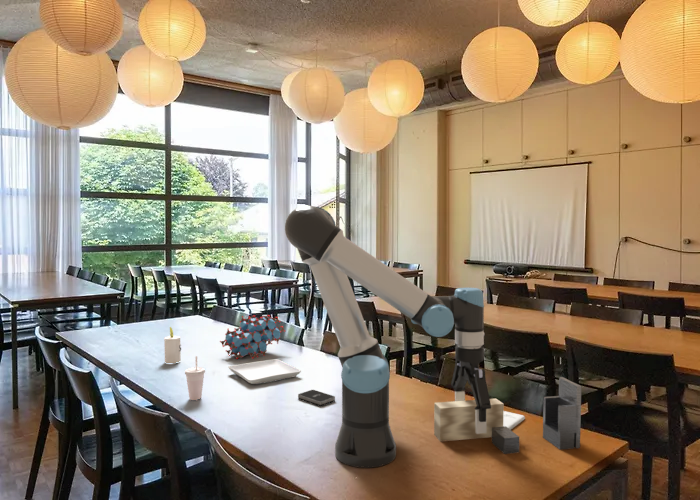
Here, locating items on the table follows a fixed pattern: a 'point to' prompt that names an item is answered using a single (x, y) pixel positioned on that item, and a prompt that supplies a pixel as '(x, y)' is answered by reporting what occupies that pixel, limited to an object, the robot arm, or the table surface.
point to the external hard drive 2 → (511, 419)
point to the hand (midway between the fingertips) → (469, 423)
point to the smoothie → (195, 381)
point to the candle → (172, 348)
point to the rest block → (505, 440)
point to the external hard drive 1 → (316, 397)
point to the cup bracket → (563, 416)
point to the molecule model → (252, 336)
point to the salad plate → (264, 371)
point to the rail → (464, 419)
